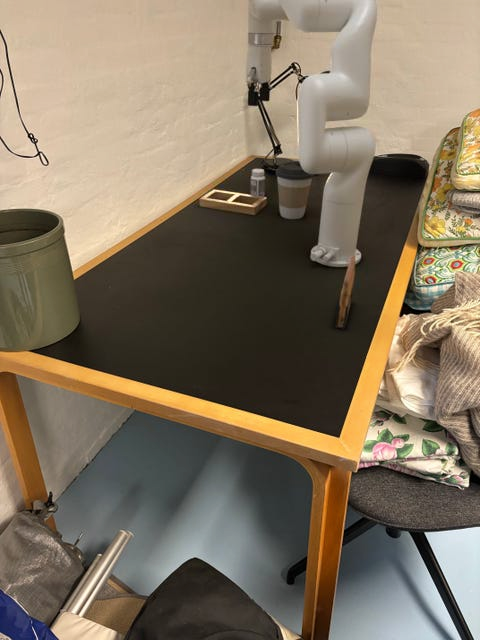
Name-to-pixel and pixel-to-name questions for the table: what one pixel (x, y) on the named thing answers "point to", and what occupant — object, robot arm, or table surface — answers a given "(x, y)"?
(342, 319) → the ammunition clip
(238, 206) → the holder
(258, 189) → the pill bottle
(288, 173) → the coffee cup
